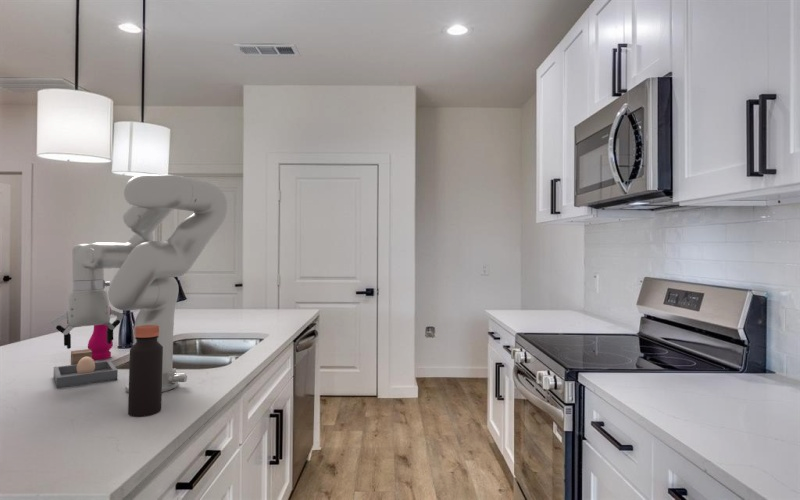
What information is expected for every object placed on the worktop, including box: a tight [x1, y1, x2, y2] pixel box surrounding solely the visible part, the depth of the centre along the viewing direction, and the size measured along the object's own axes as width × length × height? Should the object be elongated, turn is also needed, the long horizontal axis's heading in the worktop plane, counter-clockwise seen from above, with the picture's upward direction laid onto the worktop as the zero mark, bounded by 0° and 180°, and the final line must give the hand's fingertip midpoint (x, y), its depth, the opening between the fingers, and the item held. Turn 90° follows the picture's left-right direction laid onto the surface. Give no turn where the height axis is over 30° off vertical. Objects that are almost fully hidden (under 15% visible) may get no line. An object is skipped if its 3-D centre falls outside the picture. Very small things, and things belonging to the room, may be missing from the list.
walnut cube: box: [70, 348, 92, 365], centre depth 143 cm, size 5×5×5 cm
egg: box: [77, 357, 96, 374], centre depth 131 cm, size 4×4×6 cm
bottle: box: [127, 325, 163, 418], centre depth 105 cm, size 7×7×20 cm
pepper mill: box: [87, 305, 114, 361], centre depth 155 cm, size 7×7×20 cm
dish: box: [53, 360, 119, 389], centre depth 131 cm, size 14×14×3 cm
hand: (89, 345), depth 131 cm, fingers open, 9 cm apart
